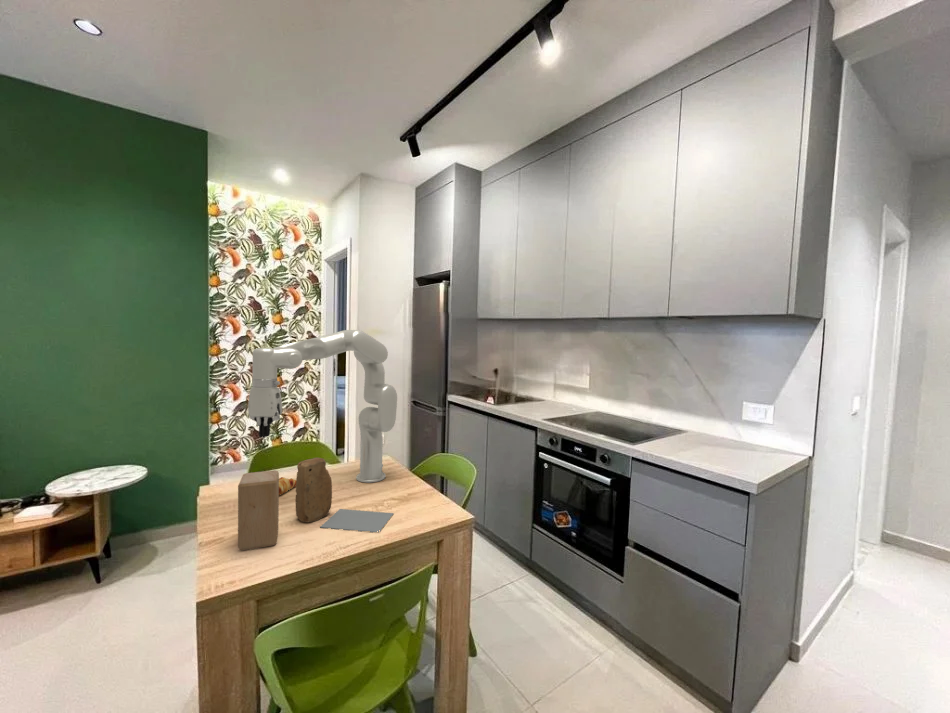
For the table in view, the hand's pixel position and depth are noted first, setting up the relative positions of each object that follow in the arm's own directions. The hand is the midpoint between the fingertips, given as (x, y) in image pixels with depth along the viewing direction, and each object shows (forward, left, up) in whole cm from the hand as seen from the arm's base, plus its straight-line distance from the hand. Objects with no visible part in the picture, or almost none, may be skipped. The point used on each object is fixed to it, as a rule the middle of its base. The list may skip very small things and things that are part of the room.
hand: (264, 436), depth 137 cm
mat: (0, +35, -27) cm, 44 cm away
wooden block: (+18, +11, -27) cm, 34 cm away
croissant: (-16, -7, -28) cm, 33 cm away
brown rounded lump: (0, +19, -27) cm, 33 cm away
